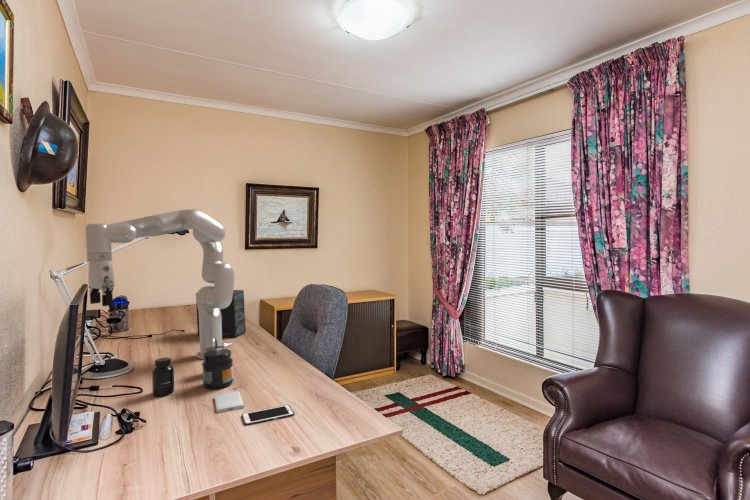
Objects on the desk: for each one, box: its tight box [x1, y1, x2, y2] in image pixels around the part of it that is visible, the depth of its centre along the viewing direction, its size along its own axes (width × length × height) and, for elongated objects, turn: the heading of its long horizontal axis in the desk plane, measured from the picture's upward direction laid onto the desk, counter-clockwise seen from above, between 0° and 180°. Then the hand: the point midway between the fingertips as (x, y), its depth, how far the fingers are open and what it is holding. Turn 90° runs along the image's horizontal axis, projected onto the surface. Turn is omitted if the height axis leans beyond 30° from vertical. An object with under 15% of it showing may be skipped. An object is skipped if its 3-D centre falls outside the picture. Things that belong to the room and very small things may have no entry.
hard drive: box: [213, 391, 245, 414], centre depth 134 cm, size 2×8×12 cm
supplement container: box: [201, 348, 234, 390], centre depth 151 cm, size 10×10×12 cm
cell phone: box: [241, 404, 295, 427], centre depth 125 cm, size 8×15×1 cm, turn 115°
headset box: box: [195, 289, 247, 338], centre depth 225 cm, size 22×12×26 cm, turn 81°
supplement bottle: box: [151, 357, 175, 398], centre depth 143 cm, size 7×7×12 cm
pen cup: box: [205, 339, 224, 352], centre depth 163 cm, size 7×7×14 cm
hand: (101, 304), depth 150 cm, fingers open, 9 cm apart
